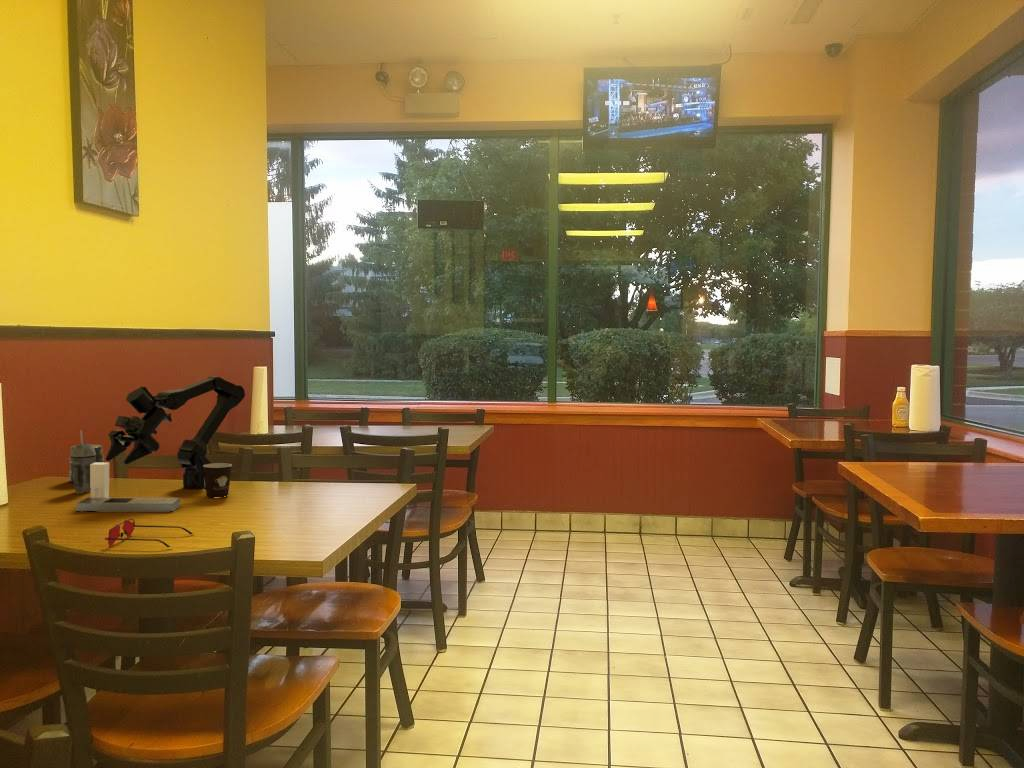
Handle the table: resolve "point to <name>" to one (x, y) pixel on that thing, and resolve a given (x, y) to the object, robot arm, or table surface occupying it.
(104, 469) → the clip
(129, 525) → the glasses
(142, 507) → the rail
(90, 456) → the beverage cup
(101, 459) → the supplement container
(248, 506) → the table surface
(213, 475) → the coffee mug
